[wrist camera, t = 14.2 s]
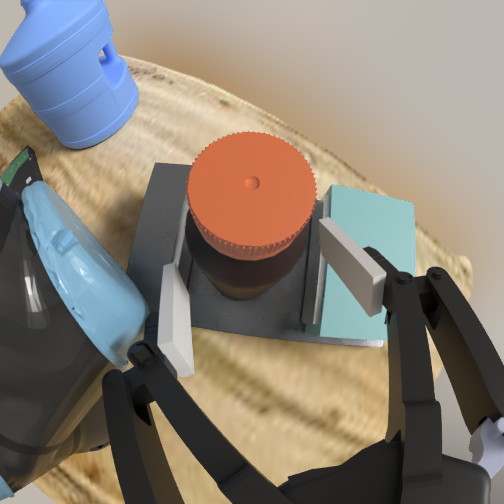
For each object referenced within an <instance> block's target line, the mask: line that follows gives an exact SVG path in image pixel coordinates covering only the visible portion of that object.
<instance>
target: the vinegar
mask: <svg viewBox="0 0 504 504" xmlns="http://www.w3.org/2000/svg"><path fill="white" fill-rule="evenodd" d="M213 142H214V143H212V144H209V146H208V147H205V150H204V151H202V153H201V154H198V158H195V163H192V164H193V167H190V169H191V171H190V172H188V173H189V176H188V177H187V179H188V181H187V182H186V184H187V186H186V187H185V188H186V190H187V192H185V193H186V195H187V197H186V199H187V201H188V202H187V204H188V206H189V210H188V212H187V215H186V224H185V237H186V241H187V246H188V250H189V253H190V254H191V256H192V258H193V259H194V261H195V263H196V264H197V266H198V268H199V269H200V270H201V271H202V273H203V274H204V275H205V276H206V277H207V279H208V280H209V281H210V282H211V283H212V284H213V286H214V287H215V288H216V289H217V290H218V291H219V292H220V293H221V294H223V295H224V296H225V297H228V298H230V299H233V300H237V301H247V300H251V299H254V298H257V297H258V296H260V295H261V294H263V293H264V292H266V291H267V290H268V289H270V288H271V287H272V286H274V285H275V284H276V283H278V282H279V281H280V280H282V279H283V278H284V277H286V276H287V275H288V274H290V272H291V271H292V270H293V269H294V267H295V266H296V265H297V263H298V262H299V261H300V259H301V258H302V255H303V252H304V249H305V246H306V243H307V240H308V221H309V219H310V217H311V215H312V214H313V213H312V212H313V210H314V209H315V208H313V207H314V206H315V205H316V203H315V201H316V199H317V198H315V196H316V195H317V193H315V191H316V190H317V188H315V186H316V184H317V183H315V179H316V178H314V177H313V175H314V173H312V172H311V171H312V169H310V167H309V166H310V164H308V163H307V160H305V159H304V156H302V155H301V154H300V153H301V152H298V151H297V149H295V148H294V147H293V145H292V146H291V145H289V142H288V143H286V142H285V141H284V140H282V139H280V138H277V137H275V135H274V136H271V135H270V134H269V135H268V134H265V133H260V132H258V133H255V132H254V131H253V132H249V131H248V132H243V133H239V132H238V134H234V133H233V135H228V136H226V137H224V136H223V138H222V139H218V141H216V142H215V141H213Z"/></svg>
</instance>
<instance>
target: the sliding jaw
mask: <svg viewBox="0 0 504 504" xmlns="http://www.w3.org/2000/svg"><path fill="white" fill-rule="evenodd" d="M327 217H329V218H330V219H331V220H333V221H334V222H335V223H336V224H337V225H338V226H339V227H340V228H341V229H342V230H343V231H344V232H345V233H347V234H348V235H349V236H350V237H351V238H352V239H353V240H354V241H355V242H356V243H357V244H358V245H359V246H360V247H361V248H365V247H368V246H370V247H372V248H374V249H376V250H377V251H379V252H380V253H381V255H383V256H384V257H385V258H386V259H387V260H388V261H389V262H390V263H391V264H392V265H393V266H394V267H395V268H396V269H397V270H398V271H399V272H400V271H404V272H408V273H410V274H411V275H413V277H416V241H415V218H414V204H413V203H411V202H407V201H403V200H399V199H395V198H392V197H388V196H383V195H379V194H375V193H371V192H366V191H362V190H357V189H353V188H348V187H343V186H338V185H333V184H332V185H331V186H330V188H329V190H328V191H327V193H326V194H325V195H324V196H323V197H322V199H321V200H320V202H319V203H318V205H317V207H316V208H315V210H314V211H313V214H312V225H311V237H310V249H309V259H308V269H307V279H306V288H305V297H304V305H303V313H302V321H301V323H306V326H305V333H309V334H313V335H317V336H322V337H335V338H349V339H367V340H388V338H387V323H386V324H384V322H385V317H386V311H387V309H386V308H385V307H384V306H383V305H382V311H381V313H379V314H377V315H374V316H372V317H369V316H368V315H367V313H366V312H365V311H364V309H363V308H362V307H361V305H360V304H359V303H358V301H357V300H356V299H355V297H354V296H353V295H352V293H351V292H350V291H349V289H348V288H347V287H346V285H345V284H344V283H343V282H342V280H341V279H340V278H339V276H338V275H337V274H336V273H335V271H334V270H333V269H332V267H331V266H330V265H329V264H328V262H327V261H326V260H325V259H324V257H323V256H322V255H321V244H320V233H319V223H318V220H320V219H323V218H327Z"/></svg>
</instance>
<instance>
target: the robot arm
mask: <svg viewBox="0 0 504 504" xmlns="http://www.w3.org/2000/svg"><path fill="white" fill-rule="evenodd" d="M318 223H319V233H320V244H321V255H322V256H323V257H324V259H325V260H326V261H327V262H328V264H329V265H330V266H331V267H332V269H333V270H334V271H335V273H336V274H337V275H338V276H339V278H340V279H341V280H342V282H343V283H344V284H345V285H346V287H347V288H348V289H349V291H350V292H351V293H352V295H353V296H354V297H355V299H356V300H357V301H358V303H359V304H360V305H361V307H362V308H363V309H364V311H365V312H366V313H367V315H368V316H369V317H372V316H374V315H377V314H379V313H381V311H382V305H383V306H384V307H385V308H386V309H387V311H386V317H385V322H384V324H386V323H387V338H388V358H389V413H388V428H387V432H386V436H385V439H383V440H381V441H379V442H377V443H375V444H373V445H371V446H369V447H367V448H365V449H362V450H361V451H360V452H358V453H357V454H356V455H354V456H353V457H351V458H350V459H349V460H347V461H346V462H344V463H343V464H341V465H339V466H333V467H326V468H317V469H311V470H308V471H305V472H302V473H299V474H295V475H292V476H288V479H289V480H288V481H286V482H284V483H283V484H281V485H280V486H278V487H276V486H275V485H274V484H273V483H272V482H270V481H269V480H268V479H267V478H266V477H265V476H264V475H263V474H261V473H260V472H259V471H258V470H257V469H256V468H255V467H254V466H253V465H252V464H251V463H250V462H249V461H248V460H247V459H246V458H245V457H244V456H243V455H242V454H241V453H240V452H239V451H238V450H237V449H236V448H235V447H234V446H233V445H232V444H231V443H230V442H229V441H228V439H227V438H226V437H225V436H224V435H223V434H222V433H221V432H220V431H219V430H218V428H217V427H216V426H215V425H214V424H213V423H212V422H211V421H210V419H209V418H208V417H207V416H206V415H205V414H204V412H203V411H202V410H201V409H200V408H199V406H198V405H197V404H196V403H195V401H194V400H193V399H192V398H191V396H190V395H189V394H188V393H187V391H186V390H185V389H184V388H183V386H182V385H181V384H180V382H179V381H178V380H177V373H178V374H179V376H180V377H181V378H182V377H186V376H191V375H195V372H194V361H193V349H192V335H191V320H190V301H189V293H188V291H187V289H186V287H185V284H184V282H183V280H182V278H181V275H180V273H179V271H178V269H177V266H176V264H175V262H174V263H170V264H167V265H164V267H163V276H162V286H161V298H160V310H159V311H158V312H154V313H150V311H149V308H148V305H147V303H146V301H145V299H144V297H143V296H142V294H141V293H140V291H139V290H138V289H137V287H136V286H135V285H134V283H133V282H132V281H131V279H130V278H129V277H128V276H127V274H126V273H125V272H124V271H123V270H122V268H121V267H120V266H119V265H118V264H117V262H116V261H115V260H114V259H113V257H112V256H111V255H110V254H109V253H108V251H107V250H106V249H105V248H104V247H103V245H102V244H101V243H100V242H99V241H98V240H97V238H96V237H95V236H94V235H93V234H92V232H91V231H90V230H89V229H88V228H87V226H86V225H85V224H84V223H83V222H82V221H81V219H80V218H79V217H78V216H77V215H76V214H75V212H74V211H73V210H72V209H71V208H70V207H69V206H68V204H67V203H66V202H65V201H64V200H63V199H62V198H61V197H60V196H59V195H58V194H57V193H55V192H54V191H53V190H52V189H51V187H50V186H49V185H48V184H47V183H45V182H44V181H36V182H34V183H33V184H32V185H30V186H27V187H25V189H24V190H23V191H22V196H20V195H18V194H16V193H15V192H14V191H13V190H12V189H11V188H10V187H9V186H8V185H7V184H5V183H4V182H3V181H2V180H1V179H0V501H1V500H3V499H5V498H8V497H14V493H15V492H17V491H18V490H20V489H22V488H23V487H25V486H26V485H28V484H29V483H31V482H33V481H34V480H36V479H37V478H39V477H40V476H42V475H43V474H45V473H46V472H48V471H49V470H51V469H52V468H54V467H55V466H57V465H58V464H59V463H61V462H62V461H64V460H65V459H67V458H68V457H69V456H71V455H72V454H77V453H84V452H89V451H97V450H101V449H103V448H105V447H107V446H109V445H111V450H112V455H113V459H114V464H115V468H116V472H117V476H118V480H119V483H120V487H121V491H122V494H123V497H124V501H125V504H185V503H184V501H183V499H182V496H181V494H180V492H179V489H178V487H177V485H176V482H175V480H174V477H173V475H172V472H171V469H170V467H169V464H168V461H167V459H166V456H165V453H164V450H163V447H162V444H161V441H160V438H159V435H158V432H157V429H156V425H155V422H154V419H153V415H152V412H151V408H150V405H149V403H151V402H153V401H156V402H157V404H158V406H159V407H160V409H161V410H162V412H163V413H164V415H165V416H166V418H167V419H168V421H169V422H170V424H171V425H172V426H173V428H174V429H175V431H176V432H177V434H178V435H179V436H180V438H181V439H182V440H183V442H184V443H185V444H186V446H187V447H188V448H189V450H190V451H191V452H192V454H193V455H194V456H195V457H196V459H197V460H198V461H199V462H200V464H201V465H202V466H203V467H204V469H205V470H206V471H207V472H208V473H209V474H210V476H211V477H212V478H213V479H214V480H215V482H216V483H217V486H218V488H219V489H220V490H221V492H222V493H223V494H224V495H225V496H226V497H227V498H228V499H229V500H230V501H231V503H232V504H490V491H491V478H492V477H493V476H494V475H495V474H496V473H497V472H498V471H499V470H500V469H501V467H502V466H503V465H504V365H503V363H502V361H501V359H500V357H499V355H498V353H497V351H496V349H495V348H494V345H493V344H492V342H491V340H490V338H489V336H488V335H487V333H486V331H485V329H484V328H483V326H482V324H481V323H480V321H479V319H478V318H477V316H476V314H475V313H474V311H473V310H472V308H471V306H470V305H469V303H468V302H467V300H466V299H465V297H464V296H463V294H462V293H461V291H460V290H459V288H458V287H457V285H456V284H455V282H454V281H453V280H452V278H451V277H450V275H449V274H448V273H447V271H445V270H444V269H443V268H441V267H431V268H429V269H428V270H427V273H426V276H419V277H413V275H411V274H410V273H408V272H404V271H400V272H399V271H398V270H397V269H396V268H395V267H394V266H393V265H392V264H391V263H390V262H389V261H388V260H387V259H386V258H385V257H384V256H383V255H381V253H380V252H379V251H377V250H376V249H374V248H372V247H370V246H368V247H365V248H361V247H360V246H359V245H358V244H357V243H356V242H355V241H354V240H353V239H352V238H351V237H350V236H349V235H348V234H347V233H345V232H344V231H343V230H342V229H341V228H340V227H339V226H338V225H337V224H336V223H335V222H334V221H333V220H331V219H330V218H329V217H327V218H323V219H320V220H318ZM425 325H426V327H427V329H428V331H429V333H430V335H431V338H432V340H433V342H434V344H435V346H436V349H437V351H438V353H439V355H440V358H441V360H442V362H443V365H444V367H445V370H446V372H447V374H448V377H449V379H450V382H451V385H452V387H453V390H454V393H455V395H456V398H457V401H458V404H459V406H460V410H461V413H462V416H463V418H464V421H465V424H466V426H467V428H468V430H469V432H470V434H471V435H472V437H471V440H470V444H469V451H470V452H472V453H473V459H472V462H468V461H464V460H461V459H457V458H453V457H450V456H447V455H444V454H442V421H441V406H440V403H439V402H438V401H436V399H435V394H434V383H433V373H432V365H431V357H430V350H429V344H428V338H427V332H426V327H425ZM143 338H144V339H143ZM128 360H130V362H131V363H132V364H133V365H134V367H133V368H131V369H129V370H127V371H125V372H123V373H122V370H125V368H126V367H127V366H128Z"/></svg>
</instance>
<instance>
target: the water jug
mask: <svg viewBox="0 0 504 504" xmlns="http://www.w3.org/2000/svg"><path fill="white" fill-rule="evenodd" d="M21 6H23V8H24V10H25V12H26V16H25V19H24V20H23V22H22V23H21V24H20V26H19V27H18V29H17V30H16V32H15V33H14V35H13V36H12V38H11V40H10V41H9V43H8V44H7V46H6V48H5V49H4V51H3V53H2V55H1V57H0V68H1V69H2V70H3V73H4V75H5V76H6V78H7V79H8V80H9V82H10V83H12V84H13V85H14V86H15V87H16V88H17V90H18V91H19V92H20V94H21V95H22V96H23V97H24V99H25V100H26V101H27V102H28V103H29V105H30V107H31V108H32V110H33V111H34V112H35V113H36V115H37V116H38V117H39V118H41V119H42V120H43V121H44V122H45V123H46V125H47V126H48V127H49V128H50V129H51V130H52V132H53V133H54V134H55V136H56V137H57V139H58V140H59V141H60V142H61V143H62V144H63V145H65V146H66V147H69V148H73V149H82V148H87V147H90V146H93V145H96V144H98V143H100V142H102V141H104V140H105V139H107V138H109V137H110V136H111V135H113V134H114V133H115V132H116V131H118V130H119V129H120V128H121V127H122V126H123V125H124V124H125V123H126V122H127V120H128V119H129V118H130V116H131V115H132V113H133V111H134V110H135V107H136V105H137V102H138V89H137V86H136V84H135V81H134V80H133V78H132V76H131V74H130V71H129V69H128V66H127V64H126V62H125V61H124V59H123V58H121V57H119V56H118V54H117V52H116V50H115V47H114V44H113V42H112V39H111V36H112V33H113V28H112V25H111V22H110V19H109V14H108V11H107V8H106V5H105V3H104V2H103V0H21ZM102 49H103V52H104V54H105V56H100V57H99V53H100V51H101V50H102Z"/></svg>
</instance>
